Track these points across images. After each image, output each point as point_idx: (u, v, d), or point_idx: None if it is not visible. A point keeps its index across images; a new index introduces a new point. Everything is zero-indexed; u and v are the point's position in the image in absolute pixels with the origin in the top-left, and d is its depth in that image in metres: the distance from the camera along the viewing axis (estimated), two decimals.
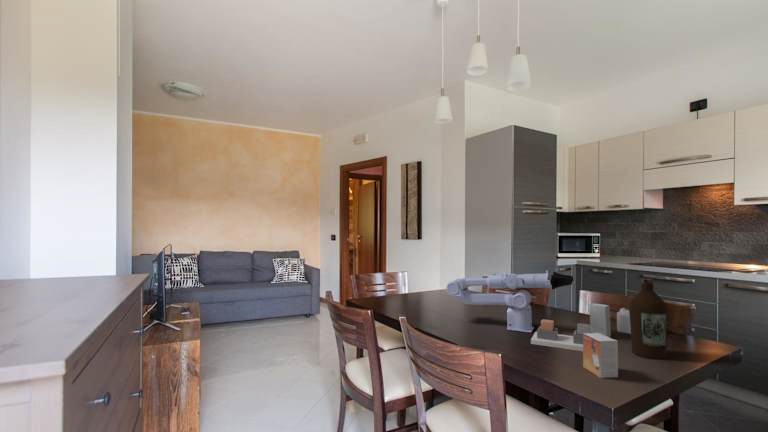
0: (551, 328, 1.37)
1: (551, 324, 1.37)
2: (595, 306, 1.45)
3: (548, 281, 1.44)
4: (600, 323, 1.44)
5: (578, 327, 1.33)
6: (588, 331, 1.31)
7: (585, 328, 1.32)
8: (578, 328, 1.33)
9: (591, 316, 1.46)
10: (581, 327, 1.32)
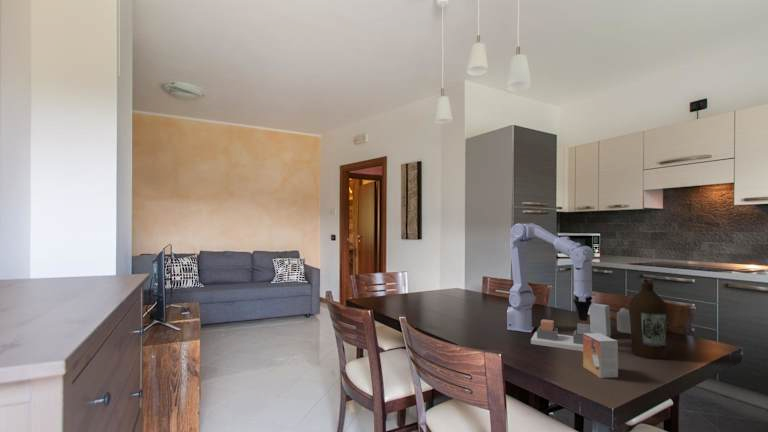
0: (551, 328, 1.37)
1: (551, 324, 1.37)
2: (595, 306, 1.45)
3: (584, 300, 1.27)
4: (600, 323, 1.44)
5: (578, 327, 1.33)
6: (588, 331, 1.31)
7: (585, 328, 1.32)
8: (578, 328, 1.33)
9: (591, 316, 1.46)
10: (581, 327, 1.32)
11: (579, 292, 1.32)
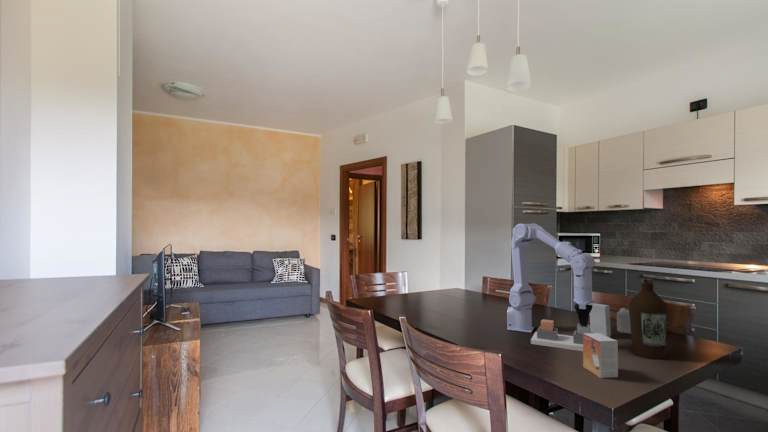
0: (551, 328, 1.37)
1: (551, 324, 1.37)
2: (595, 306, 1.45)
3: (584, 307, 1.27)
4: (600, 323, 1.44)
5: (578, 327, 1.33)
6: (588, 331, 1.31)
7: (585, 328, 1.32)
8: (578, 329, 1.33)
9: (591, 316, 1.46)
10: (581, 327, 1.32)
11: (579, 299, 1.32)
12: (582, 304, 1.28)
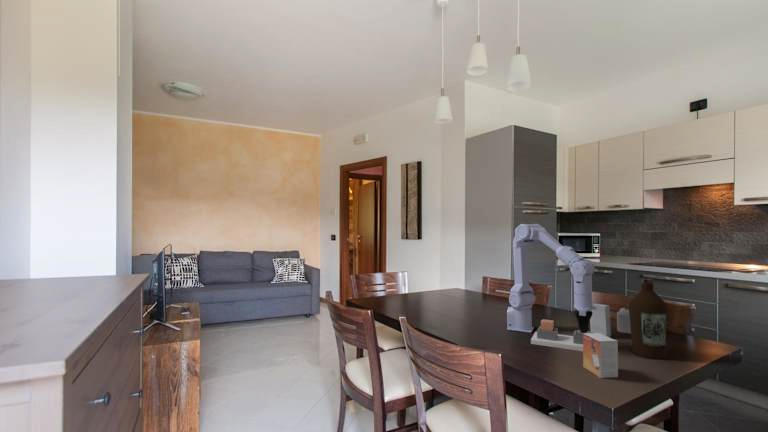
0: (551, 328, 1.37)
1: (551, 324, 1.37)
2: (595, 306, 1.45)
3: (584, 314, 1.27)
4: (600, 323, 1.44)
5: (578, 334, 1.33)
6: None
7: None
8: None
9: (591, 316, 1.46)
10: (581, 334, 1.32)
11: (579, 306, 1.32)
12: (582, 311, 1.28)
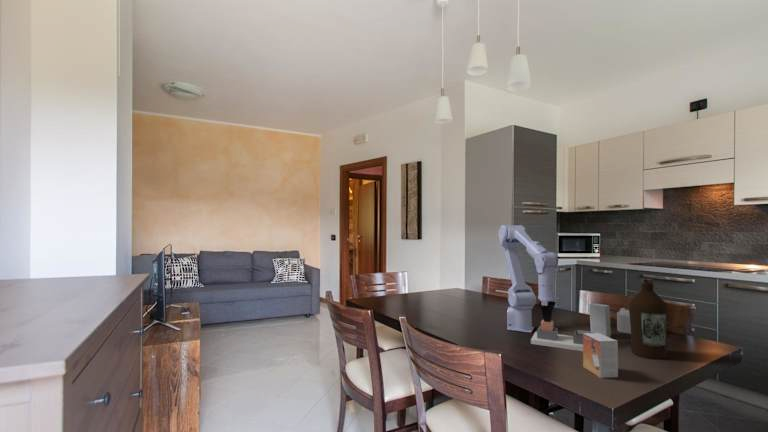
0: (551, 328, 1.37)
1: (551, 324, 1.37)
2: (595, 306, 1.45)
3: (546, 304, 1.33)
4: (600, 323, 1.44)
5: (578, 334, 1.33)
6: None
7: None
8: None
9: (591, 316, 1.46)
10: (581, 334, 1.32)
11: (543, 296, 1.38)
12: (544, 301, 1.34)
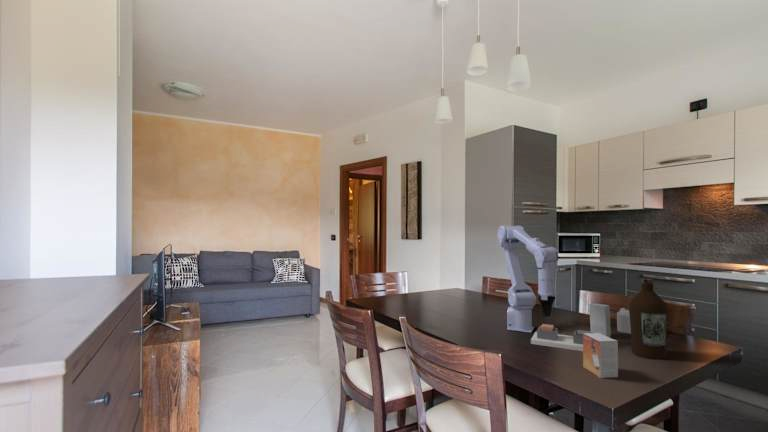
0: None
1: (551, 329, 1.37)
2: (595, 306, 1.45)
3: (545, 298, 1.33)
4: (600, 323, 1.44)
5: (578, 334, 1.33)
6: None
7: None
8: None
9: (591, 316, 1.46)
10: (581, 334, 1.32)
11: (542, 291, 1.38)
12: (544, 295, 1.34)
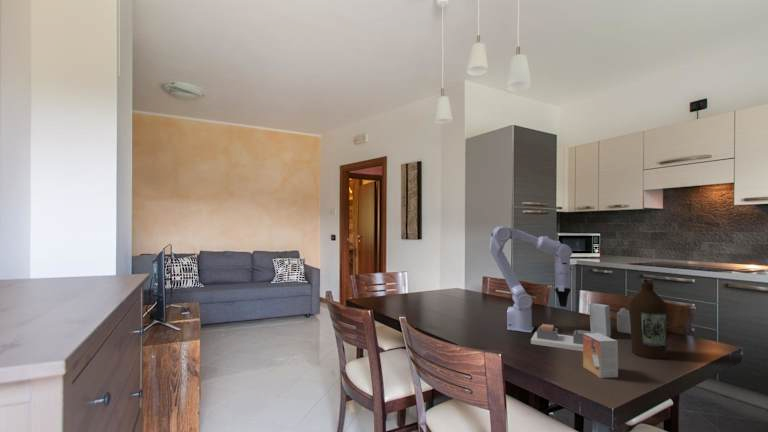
0: None
1: (551, 329, 1.37)
2: (595, 306, 1.45)
3: (562, 289, 1.47)
4: (600, 323, 1.44)
5: (578, 334, 1.33)
6: None
7: None
8: None
9: (591, 316, 1.46)
10: (581, 334, 1.32)
11: (559, 283, 1.52)
12: (561, 287, 1.47)
